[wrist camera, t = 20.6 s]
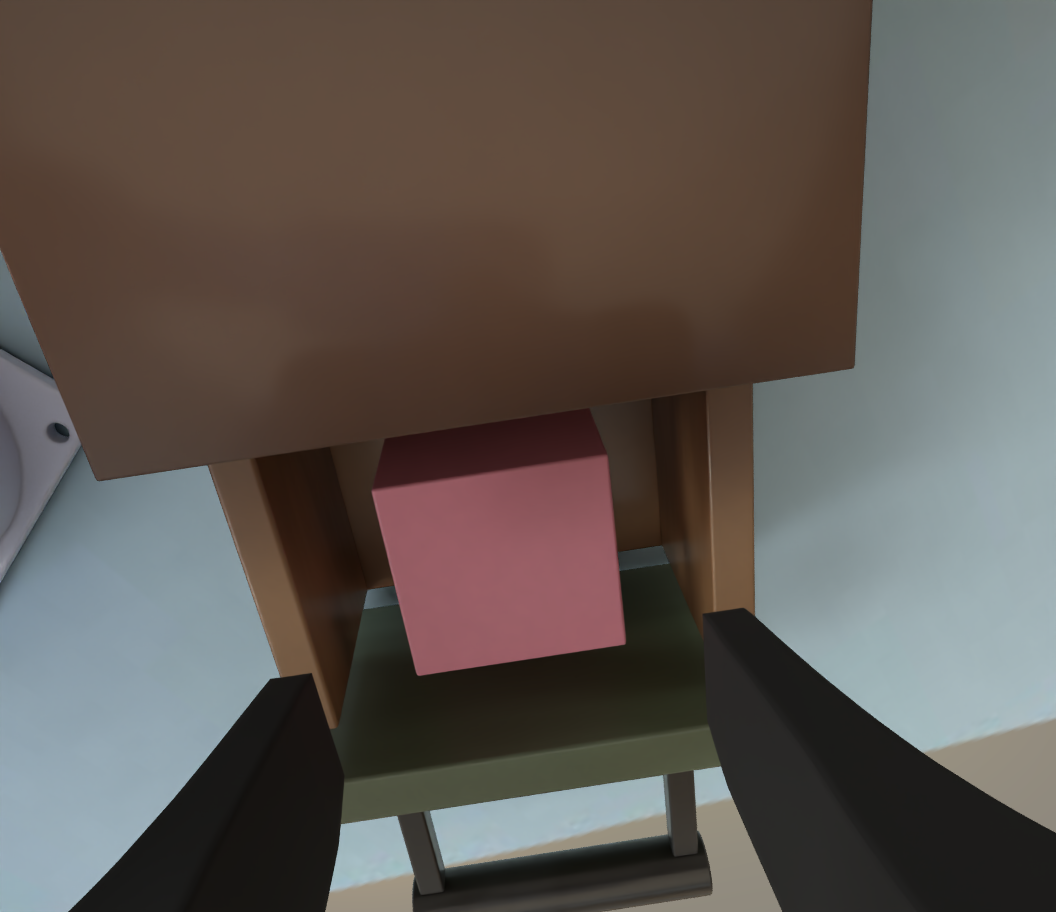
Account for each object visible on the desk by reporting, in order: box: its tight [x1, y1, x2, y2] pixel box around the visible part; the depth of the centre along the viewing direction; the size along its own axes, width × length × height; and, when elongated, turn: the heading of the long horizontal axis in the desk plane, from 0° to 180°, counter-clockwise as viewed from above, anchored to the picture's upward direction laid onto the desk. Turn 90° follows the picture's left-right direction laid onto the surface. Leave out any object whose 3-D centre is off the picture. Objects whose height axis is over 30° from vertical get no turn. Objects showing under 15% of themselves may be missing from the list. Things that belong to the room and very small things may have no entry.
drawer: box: [208, 384, 755, 912], centre depth 17 cm, size 17×10×6 cm, turn 8°
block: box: [371, 408, 626, 676], centre depth 16 cm, size 4×4×4 cm
